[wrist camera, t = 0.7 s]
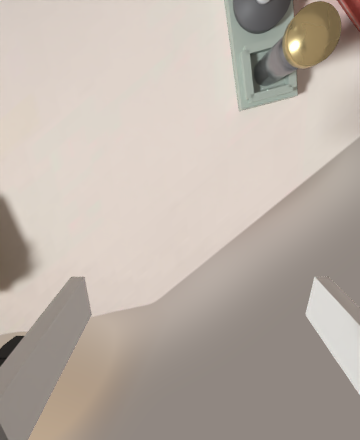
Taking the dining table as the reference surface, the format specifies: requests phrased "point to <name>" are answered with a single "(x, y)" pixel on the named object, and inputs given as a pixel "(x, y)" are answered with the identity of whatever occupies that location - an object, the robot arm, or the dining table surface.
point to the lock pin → (301, 43)
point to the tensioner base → (257, 48)
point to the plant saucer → (352, 10)
